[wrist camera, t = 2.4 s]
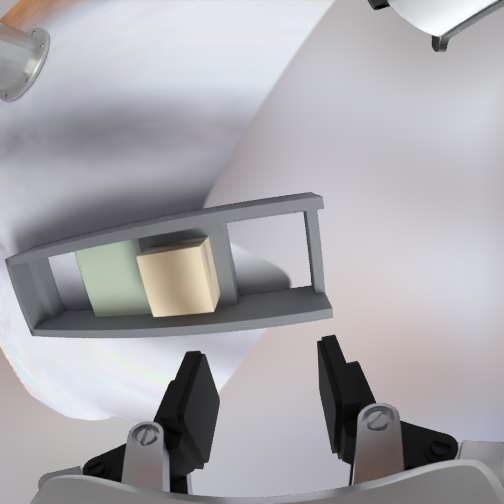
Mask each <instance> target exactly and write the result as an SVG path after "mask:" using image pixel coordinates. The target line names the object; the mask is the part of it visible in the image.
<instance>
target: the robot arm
mask: <svg viewBox="0 0 504 504" xmlns="http://www.w3.org/2000/svg"><path fill="white" fill-rule="evenodd" d="M48 49H49V35H48V33H47V32H46V31H45V30H43V29H41V28H35V29H32V30H30V31H28V32H27V33H25V32H23V31H20V30H18V29H16V28H13V27H11V26H8V25H6V24H3V23H0V99H1V100H3V101H13V100H15V99H17V98H19V97H20V96H21V95H22V94H23V93H24V92H25V91H26V90H27V89H28V88H29V87H30V86H31V84H32V83H33V81H34V80H35V79H36V77H37V75H38V73H39V72H40V70H41V68H42V66H43V64H44V61H45V59H46V56H47V53H48ZM317 348H318V368H319V390H320V396H321V401H322V405H323V410H324V415H325V420H326V425H327V430H328V434H329V439H330V445H331V449H332V453H333V454H334V453H337V454H338V459H342V461H344V462H346V463H348V464H350V471H349V480H348V486H347V487H342V488H337V489H332V490H326V491H320V492H313V493H306V494H296V495H287V496H274V497H211V496H198V495H193V493H192V483H191V474H190V473H191V472H192V471H194V469H203V467H204V463H207V462H208V461H209V457H210V452H211V446H212V441H213V436H214V431H215V426H216V421H217V415H218V410H219V405H220V400H219V395H218V392H217V389H216V386H215V383H214V380H213V377H212V374H211V371H210V368H209V365H208V361H207V358H206V355H205V354H201V352H200V351H188V352H186V354H185V356H184V359H183V361H182V363H181V366H180V368H179V371H178V373H177V375H176V378H175V380H172V381H171V382H170V383H169V385H168V388H167V390H166V392H165V395H164V397H163V399H162V402H161V404H160V406H159V409H158V411H157V413H156V416H155V418H154V421H153V422H150V421H146V422H141V423H139V424H137V425H135V426H134V427H133V428H132V429H131V430H130V431H129V434H128V438H127V443H126V444H123V445H121V446H119V447H117V448H115V449H113V450H110V451H108V452H106V453H104V454H101V455H99V456H97V457H94V458H92V459H91V460H89V461H88V462H87V463H86V464H85V465H84V467H83V468H82V467H81V466H78V467H74V468H69V469H66V470H61V471H56V472H52V473H47V474H44V475H43V476H42V477H41V478H40V480H39V484H38V487H39V491H38V492H37V494H36V495H35V497H34V498H33V500H32V502H31V503H30V504H504V442H488V441H471V440H470V441H469V440H463V442H457V441H456V440H455V439H454V438H453V437H452V436H450V435H448V434H445V433H441V432H437V431H433V430H430V429H427V428H423V427H419V426H416V425H413V424H410V423H407V422H403V421H400V417H399V413H398V411H397V410H396V408H395V407H393V406H391V405H389V404H385V403H376V401H375V399H374V396H373V394H372V392H371V390H370V387H369V385H368V382H367V380H366V378H365V376H364V373H363V371H362V369H361V366H360V364H359V363H358V361H355V362H350V363H346V361H345V358H344V356H343V353H342V351H341V348H340V346H339V343H338V341H337V338H336V336H335V335H331V336H325V337H322V340H321V341H317Z"/></svg>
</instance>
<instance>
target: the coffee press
mask: <svg viewBox="0 0 504 504" xmlns="http://www.w3.org/2000/svg"><path fill="white" fill-rule="evenodd" d="M368 1H369V3H370V5H371V7H372V8H373V9H374V10H379V9H382V8H385V7H389V6H391V7H392V8H393V9H394V10H395V11H396V12H397V13H398V14H399V15H400V16H401V17H402V18H403V19H405V20H406V21H407V22H409V23H410V24H411V25H413V26H415V27H416V28H418V29H419V30H421V31H423V32H425V33H428V34H430V35H432V47H433V49H434V51H436V52H445V51H446V49H447V44H448V41H449V39H450V38H451V37H453V36H454V35H456V34H457V33H459V32H461V31H462V30H464V29H465V28H467V27H469V26H471V25H472V24H474V23H476V22H477V21H479V20H481V19H483V18H484V17H486V16H488V15H490V14H491V13H493V12H495V11H497V10H499V9H500V8H502V7H504V0H368ZM440 37H442V38H441V41H440V39H439V38H440ZM439 41H440V46H439Z"/></svg>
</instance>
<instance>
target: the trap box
mask: <svg viewBox="0 0 504 504" xmlns="http://www.w3.org/2000/svg"><path fill="white" fill-rule="evenodd" d="M318 209H324V205H323V197H322V196H320V195H317V194H314V193H311V192H309V193H302V194H294V195H286V196H279V197H272V198H266V199H260V200H253V201H247V202H240V203H234V204H228V205H222V206H216V207H211V208H205V209H199V210H194V211H188V212H183V213H178V214H173V215H168V216H163V217H158V218H153V219H148V220H143V221H139V222H134V223H129V224H125V225H120V226H116V227H112V228H107V229H103V230H99V231H95V232H90V233H86V234H82V235H78V236H74V237H70V238H66V239H63V240H59V241H55V242H51V243H48V244H44V245H40V246H37V247H33V248H30V249H28V250H26V251H23V252H21V253H19V254H16V255H14V256H12V257H9V258H7V259H5V262H6V266H7V269H8V272H9V276H10V279H11V282H12V285H13V288H14V291H15V294H16V297H17V300H18V303H19V305H20V308H21V311H22V313H23V316H24V318H25V321H26V323H27V325H28V328H29V330H30V332H31V335H32V336H43V337H66V338H141V337H165V336H183V335H197V334H210V333H221V332H232V331H242V330H251V329H259V328H267V327H275V326H283V325H290V324H297V323H303V322H309V321H316V320H322V319H328V318H333V312H332V307H331V304H330V302H329V300H328V298H327V296H326V295H325V286H324V273H323V261H322V251H321V241H320V233H319V222H318V214H317V210H318ZM302 211H303V212H304V219H305V227H306V236H307V244H308V253H309V263H310V272H311V283H312V285H311V286H304V287H297V288H291V289H284V290H277V291H269V292H262V293H254V294H247V295H240V294H239V289H238V284H237V279H236V274H235V268H234V263H233V258H232V252H231V247H230V241H229V236H228V230H227V225H226V223H229V222H234V221H241V220H247V219H254V218H261V217H268V216H275V215H281V214H289V213H296V212H302ZM208 236H209V241H210V246H211V251H212V256H213V261H214V265H215V270H216V275H217V280H218V284H219V289H220V297H219V299H218V302H217V305H216V308H215V310H214V312H207V313H197V314H186V315H174V316H162V317H153V314H152V310H151V307H150V304H149V301H148V297H147V294H146V291H145V287H144V284H143V280H142V277H141V273H140V269H139V266H138V262H137V258H136V256H138V255H139V254H141V253H142V252H144V251H145V250H147V249H148V248H150V247H151V246H153V245H159V244H165V243H171V242H177V241H183V240H189V239H195V238H201V237H208ZM73 251H75V253H76V257H77V260H78V264H79V267H80V271H81V274H82V277H83V281H84V284H85V287H86V290H87V293H88V296H89V299H90V302H91V305H92V307H93V309H90V310H72V311H65V310H64V307H63V304H62V301H61V299H60V296H59V293H58V290H57V287H56V284H55V281H54V278H53V274H52V271H51V268H50V264H49V261H48V257H51V256H55V255H60V254H64V253H69V252H73Z"/></svg>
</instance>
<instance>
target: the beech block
mask: <svg viewBox="0 0 504 504" xmlns="http://www.w3.org/2000/svg"><path fill="white" fill-rule="evenodd" d="M136 258H137V262H138V266H139V269H140V273H141V277H142V280H143V284H144V287H145V291H146V294H147V297H148V301H149V304H150V307H151V310H152V314H153V317H162V316H174V315H186V314H197V313H207V312H214V310H215V308H216V305H217V302H218V299H219V297H220V289H219V284H218V280H217V275H216V270H215V265H214V261H213V256H212V251H211V246H210V241H209V236H208V237H201V238H195V239H189V240H183V241H177V242H171V243H165V244H159V245H153V246H151V247H150V248H148V249H147V250H145V251H144V252H142V253H141V254H139V255H138V256H136Z"/></svg>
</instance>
